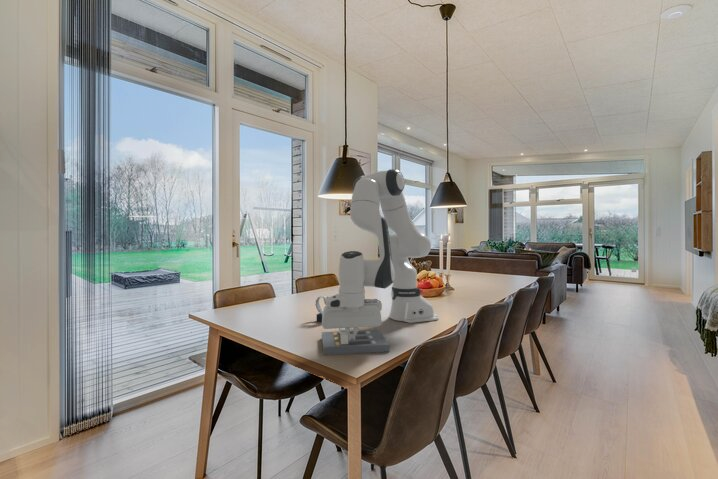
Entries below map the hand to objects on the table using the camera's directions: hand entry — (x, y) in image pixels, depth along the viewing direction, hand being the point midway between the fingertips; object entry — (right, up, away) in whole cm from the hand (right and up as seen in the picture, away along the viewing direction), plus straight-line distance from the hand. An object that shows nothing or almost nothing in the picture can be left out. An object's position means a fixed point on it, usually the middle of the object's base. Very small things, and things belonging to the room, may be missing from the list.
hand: (351, 339), depth 121 cm
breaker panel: (+1, -3, +6) cm, 7 cm away
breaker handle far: (-4, -1, +11) cm, 11 cm away
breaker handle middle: (-3, -1, +5) cm, 6 cm away
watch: (-13, -2, +38) cm, 41 cm away
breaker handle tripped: (-2, -1, 0) cm, 3 cm away
